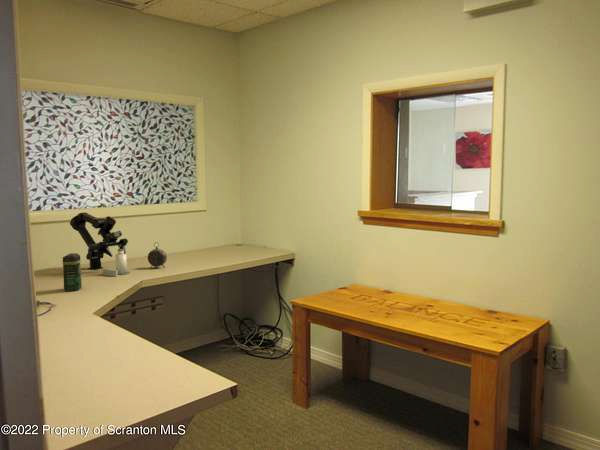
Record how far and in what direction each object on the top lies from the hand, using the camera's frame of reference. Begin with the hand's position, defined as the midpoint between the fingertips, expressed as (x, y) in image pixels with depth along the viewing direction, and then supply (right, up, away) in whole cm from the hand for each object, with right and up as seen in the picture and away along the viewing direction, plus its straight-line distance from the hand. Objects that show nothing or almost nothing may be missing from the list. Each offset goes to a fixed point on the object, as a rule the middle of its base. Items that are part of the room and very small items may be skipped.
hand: (118, 255), depth 304 cm
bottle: (+2, -10, 0) cm, 10 cm away
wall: (-3, -11, -6) cm, 13 cm away
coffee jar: (-9, -15, -40) cm, 44 cm away
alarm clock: (+18, -9, +16) cm, 26 cm away
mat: (+2, -11, 0) cm, 11 cm away
